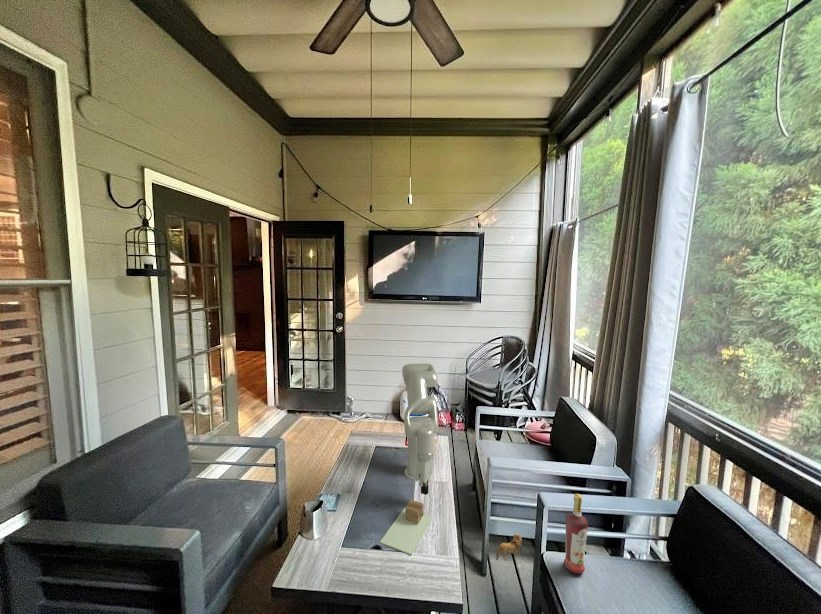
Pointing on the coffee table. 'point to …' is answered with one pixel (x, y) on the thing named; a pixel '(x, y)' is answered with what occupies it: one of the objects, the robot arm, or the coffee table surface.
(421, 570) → the coffee table surface
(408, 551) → the rubber mat
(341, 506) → the coffee table surface
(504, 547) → the lion figurine
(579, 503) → the liquor
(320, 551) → the coffee table surface
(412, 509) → the walnut cube
